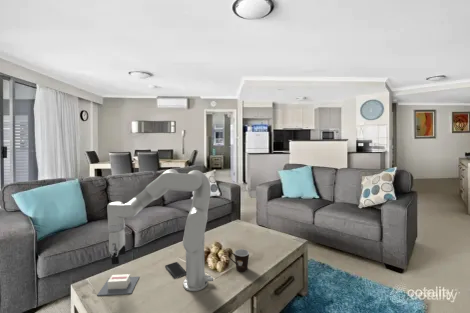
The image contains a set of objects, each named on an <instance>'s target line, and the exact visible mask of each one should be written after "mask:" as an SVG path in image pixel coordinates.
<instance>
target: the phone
mask: <svg viewBox="0 0 470 313" xmlns="http://www.w3.org/2000/svg"><path fill="white" fill-rule="evenodd" d="M164 268H165V269H166V270H167V272H168V273H169V274H170V276H171V277H172V278H173V279H179V278H182V277H184V276H186V269H184V267H182V266H181V264H180V263H179V262H178V261H175V262H172V263H168V264H165V265H164Z"/></svg>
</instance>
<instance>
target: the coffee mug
mask: <svg viewBox="0 0 470 313" xmlns="http://www.w3.org/2000/svg"><path fill="white" fill-rule="evenodd" d="M230 255H232V256H234V260H235V261H234V260H233V259H232V257H230ZM228 258H229V259H230V261H231V262H233V263H234V264H235V270H236V271H237V272H239V273H244V272H246V271H248V266H249V258H250V252H249V250H248V249H244V248H239V249H236V250H235V251H234V252H230V253H228Z"/></svg>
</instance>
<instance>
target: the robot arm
mask: <svg viewBox="0 0 470 313" xmlns="http://www.w3.org/2000/svg"><path fill="white" fill-rule="evenodd" d="M168 191H178V192H193V196H192V202H191V205H190V206H191V207H190V210H189V213H188V214H187V217H186V222H185V227H184V233H183V238H182V246H183V249H184V250H185V271H186V275H185V279H184V280H183V282H182V283H183V284H182V286H183V288H184V289H185V290H187V291H189V292H199V291H202V290H203V289H205V288H206V287H207V286H208V282H214V276H212V275H211V274H208V275H207V274H206V272H205V240H206V239H205V233H206V229H207V228H206V227H207V223H208V216H209V215H208V211H209V206H210V199H211V194H212V193H211V192H212V190H211V184H210V181H209V178H208V177H207V176H206V174H205V173H203V172H202V170H198V169H193V170H190V171H189V172H188V173H186V172H185V173H183V172H182V173H181V172H178V170H176V169H174V168H170V169H167V170H165V171H163V173H161V174H160V175H159V176H158V177H156V178H155V179H154V180H153V181H151V182H150V183H148V184H147V185H146V187H145V188H144V189H143V190H142V191H140V192H139V193H138V194H137V195H135V196H134V197H132V199H130V200H129V201H127V202H125V203H124V202H122V201H112V202H109V203H108V204H107V206H106V210H107V222H108V224H107V225H108V226H107V227H108V233H109V235H108V251H109V253H110V257H111V258H110V259H111V265H118V264H120V260H119V255H126V254H127V253H126V232H125V229H126V221H125V219H128V220H129V219H133V218H134V217H135V216H137V215H138V214H139V213H140V212H141V211H142V210H143V209H144V208H146V207H147V206H148V205H149V204H150V203H152V202H154V201H155V200H158V199H160V198H161V197H163V196H164V195H165V194H166V193H167V192H168Z"/></svg>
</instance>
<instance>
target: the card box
mask: <svg viewBox="0 0 470 313" xmlns="http://www.w3.org/2000/svg"><path fill="white" fill-rule="evenodd" d="M130 277H131V273H129V274H128V273H126V274H112V275H111V276H110V277H109V278H110V279H109V278H108V279H109V281H108V289H125V288H127V287H128V285H129V283H130Z"/></svg>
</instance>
